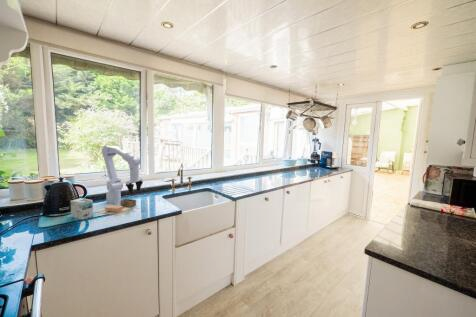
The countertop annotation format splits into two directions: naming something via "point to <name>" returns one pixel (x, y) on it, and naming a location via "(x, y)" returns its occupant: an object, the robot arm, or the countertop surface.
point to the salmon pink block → (114, 208)
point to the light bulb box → (81, 208)
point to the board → (114, 212)
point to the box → (128, 202)
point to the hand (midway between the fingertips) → (134, 192)
